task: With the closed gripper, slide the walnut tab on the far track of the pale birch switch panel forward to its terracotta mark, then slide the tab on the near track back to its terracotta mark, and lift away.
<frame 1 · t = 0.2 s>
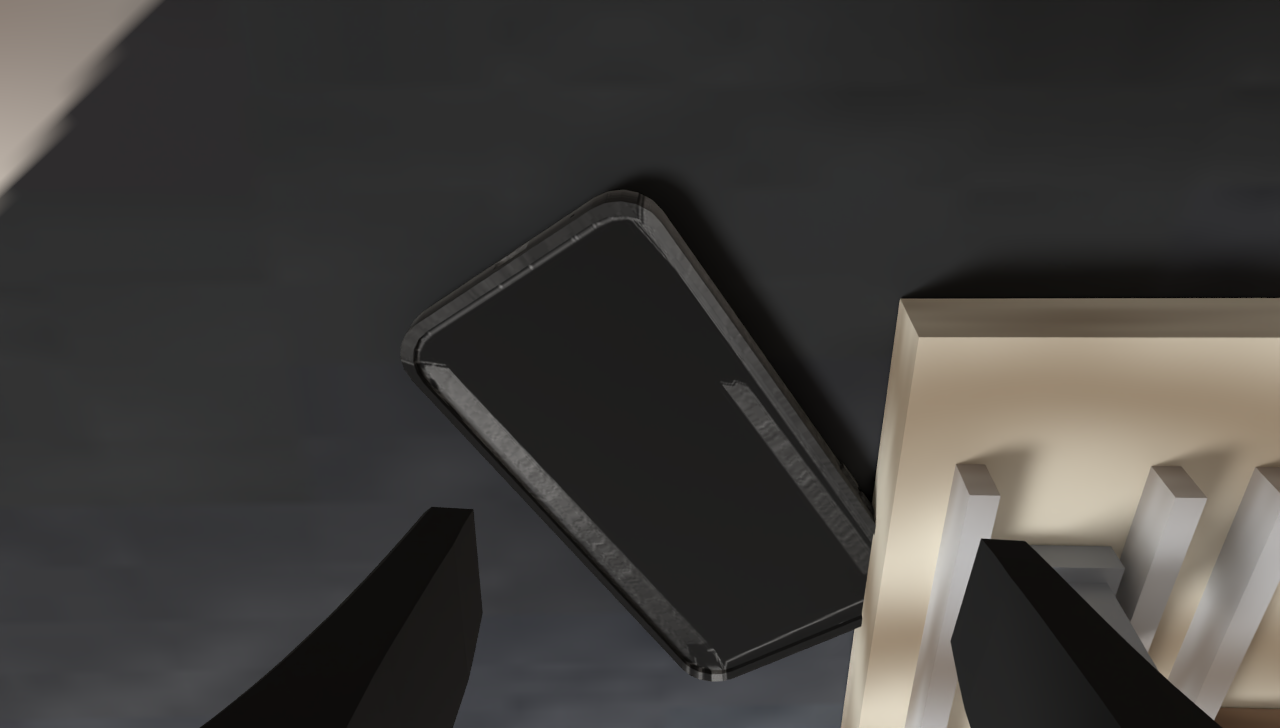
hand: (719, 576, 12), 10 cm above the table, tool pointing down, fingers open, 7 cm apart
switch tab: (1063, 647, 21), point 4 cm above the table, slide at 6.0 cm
switch panel: (1114, 602, 25), on the table
phone: (676, 453, 24), on the table
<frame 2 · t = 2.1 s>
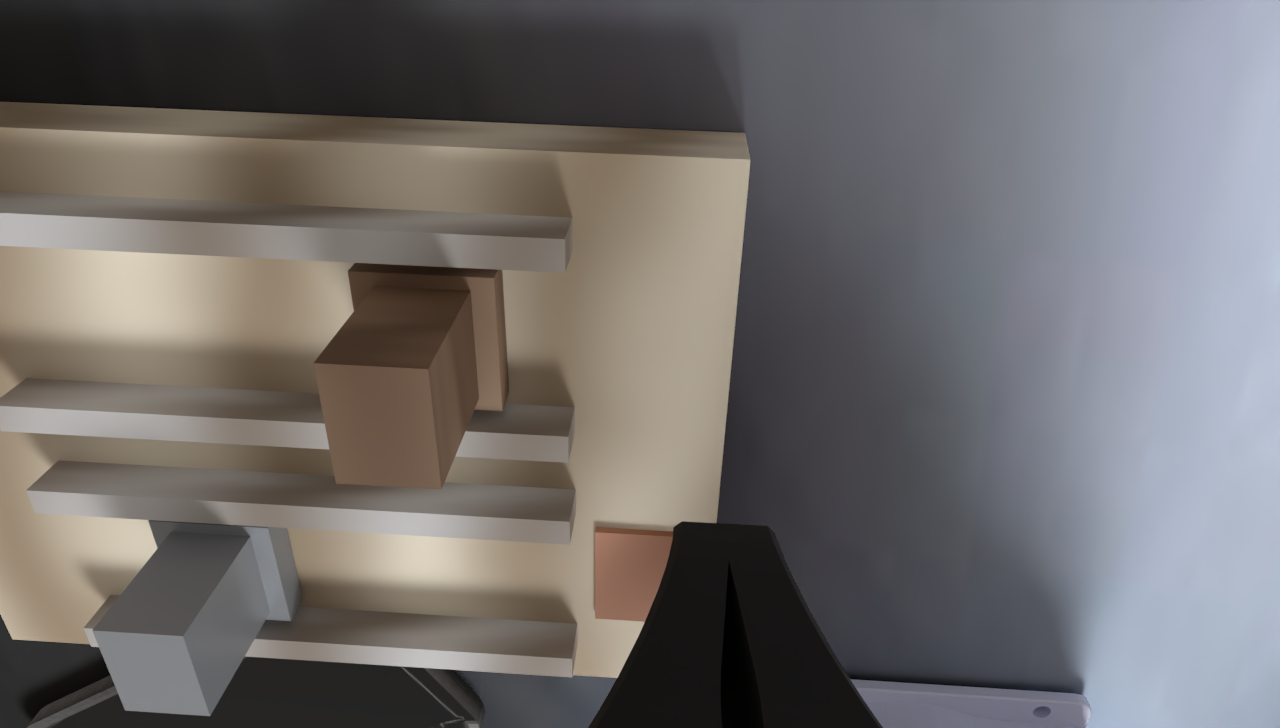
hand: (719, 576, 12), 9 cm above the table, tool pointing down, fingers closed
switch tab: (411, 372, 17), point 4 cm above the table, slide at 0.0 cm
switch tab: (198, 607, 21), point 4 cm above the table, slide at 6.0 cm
switch panel: (338, 402, 22), on the table
phone: (261, 702, 29), on the table
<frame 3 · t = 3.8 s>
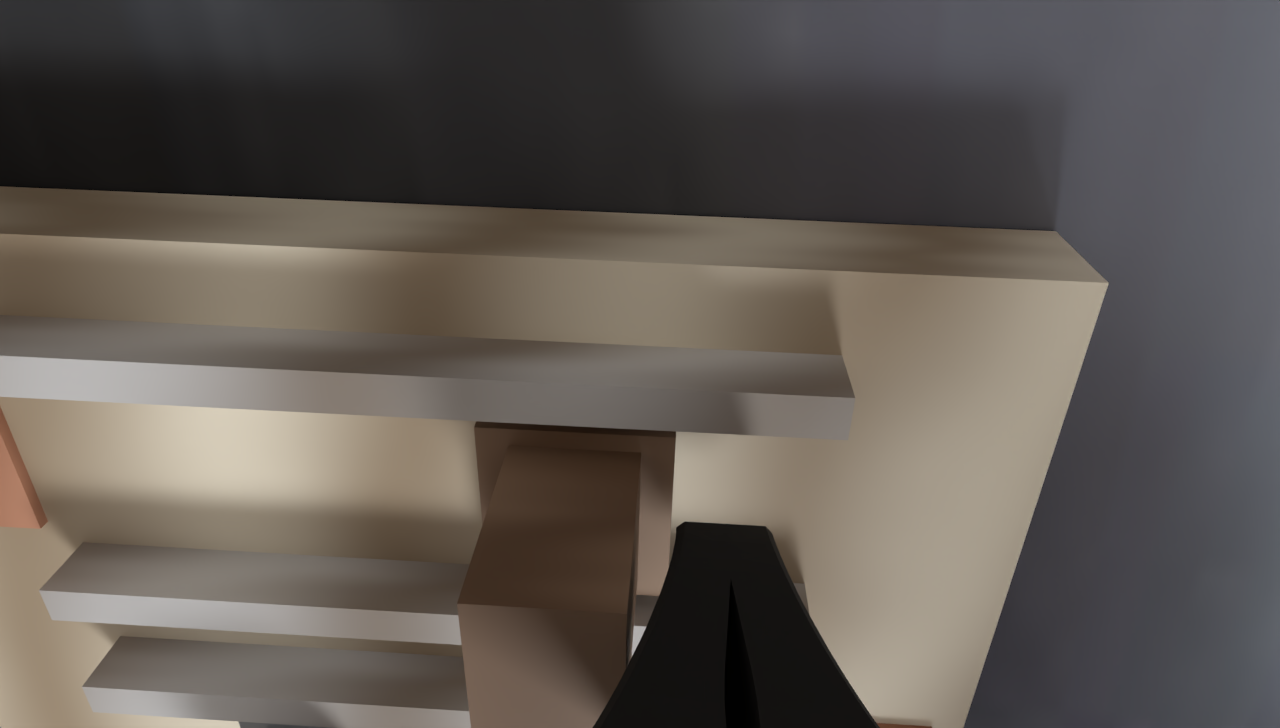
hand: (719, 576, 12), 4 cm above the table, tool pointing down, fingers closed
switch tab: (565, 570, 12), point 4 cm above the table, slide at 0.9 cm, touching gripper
switch panel: (470, 551, 18), on the table
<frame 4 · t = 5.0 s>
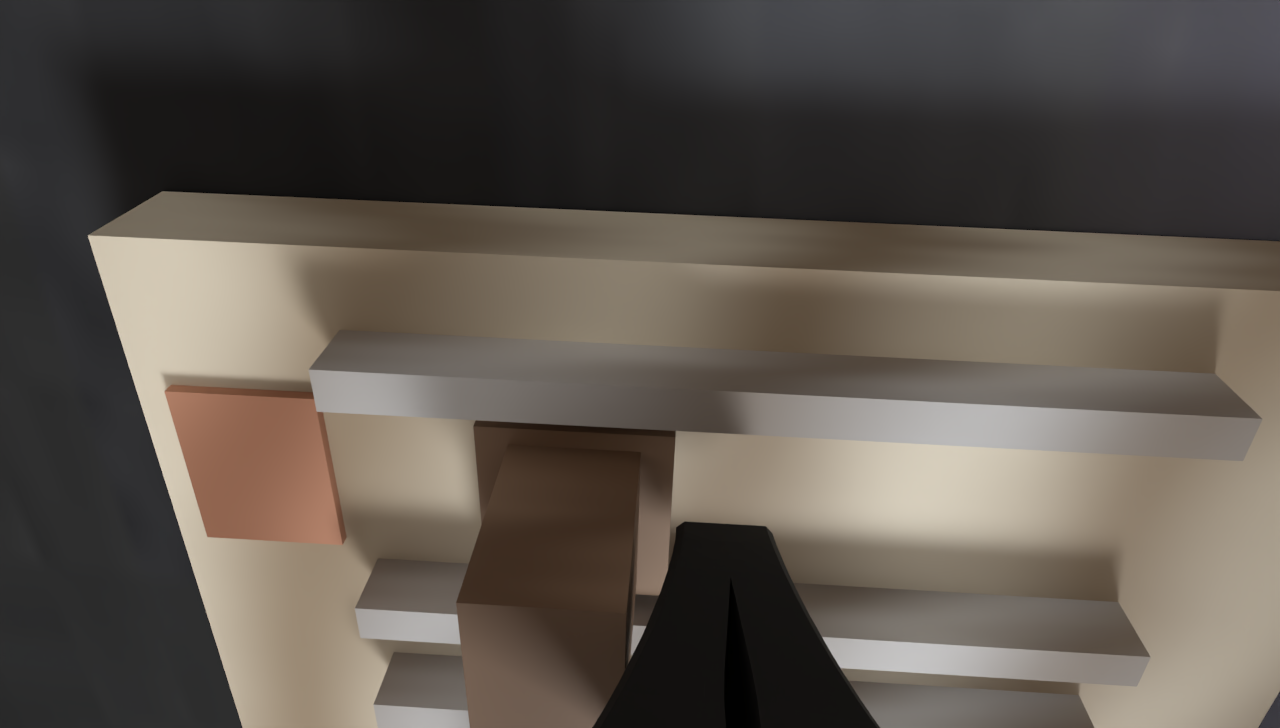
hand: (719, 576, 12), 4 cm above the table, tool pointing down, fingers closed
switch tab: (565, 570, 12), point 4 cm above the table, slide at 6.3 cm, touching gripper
switch panel: (731, 565, 17), on the table
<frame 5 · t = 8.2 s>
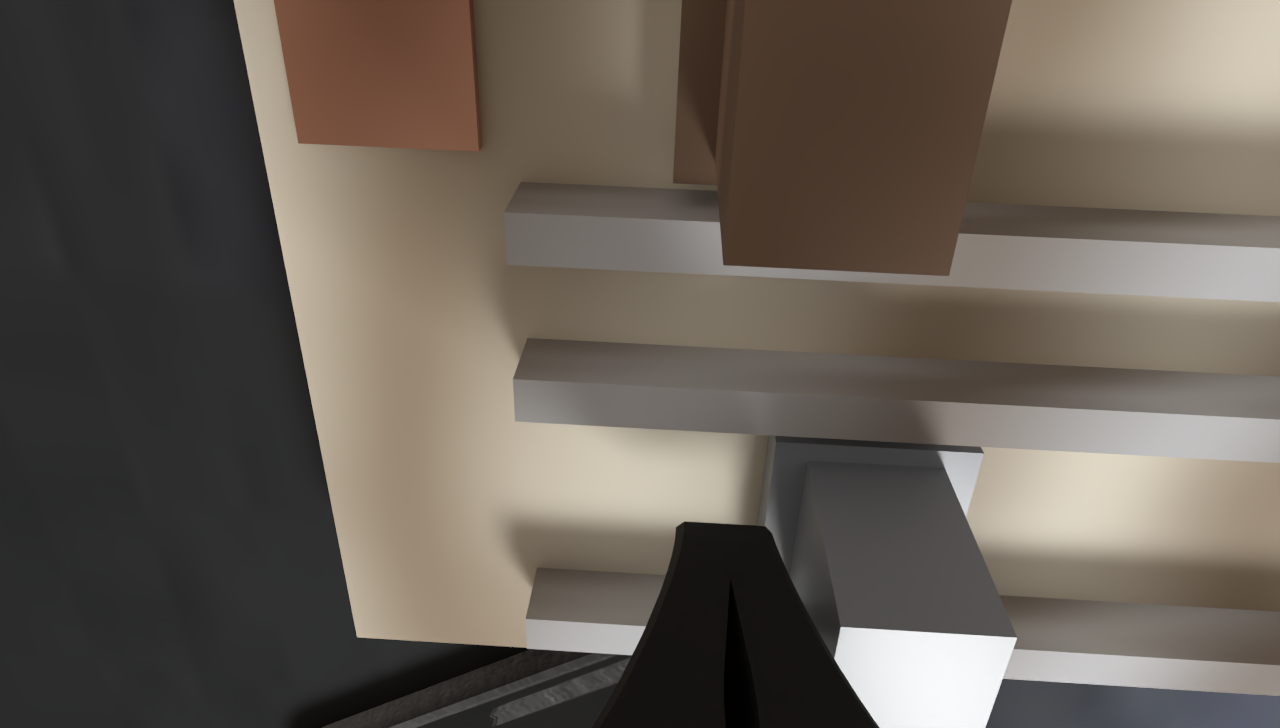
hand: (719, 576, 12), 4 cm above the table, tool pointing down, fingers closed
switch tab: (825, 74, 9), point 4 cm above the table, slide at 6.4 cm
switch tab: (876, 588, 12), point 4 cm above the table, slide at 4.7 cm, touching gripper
switch panel: (943, 254, 14), on the table
phone: (628, 726, 21), on the table
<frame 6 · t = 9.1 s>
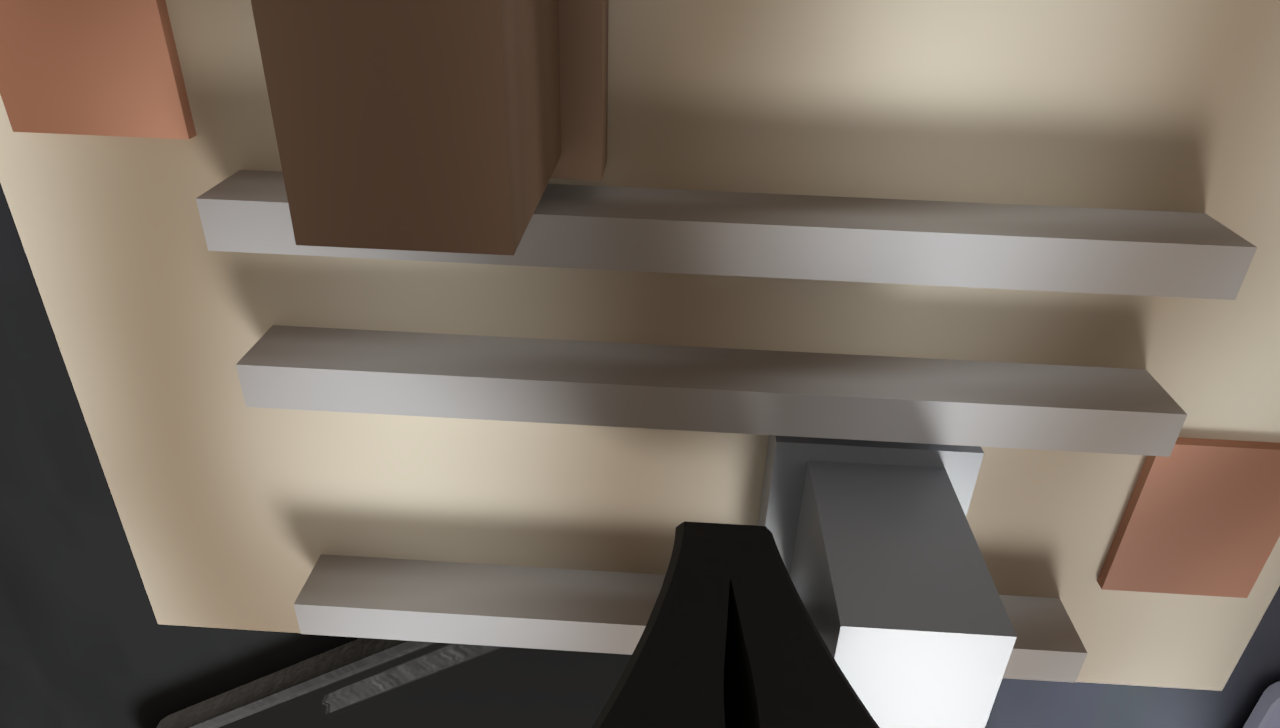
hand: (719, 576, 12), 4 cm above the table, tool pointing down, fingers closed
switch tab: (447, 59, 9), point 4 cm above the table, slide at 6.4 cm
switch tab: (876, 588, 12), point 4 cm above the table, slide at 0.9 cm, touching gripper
switch panel: (704, 243, 14), on the table
phone: (472, 715, 21), on the table
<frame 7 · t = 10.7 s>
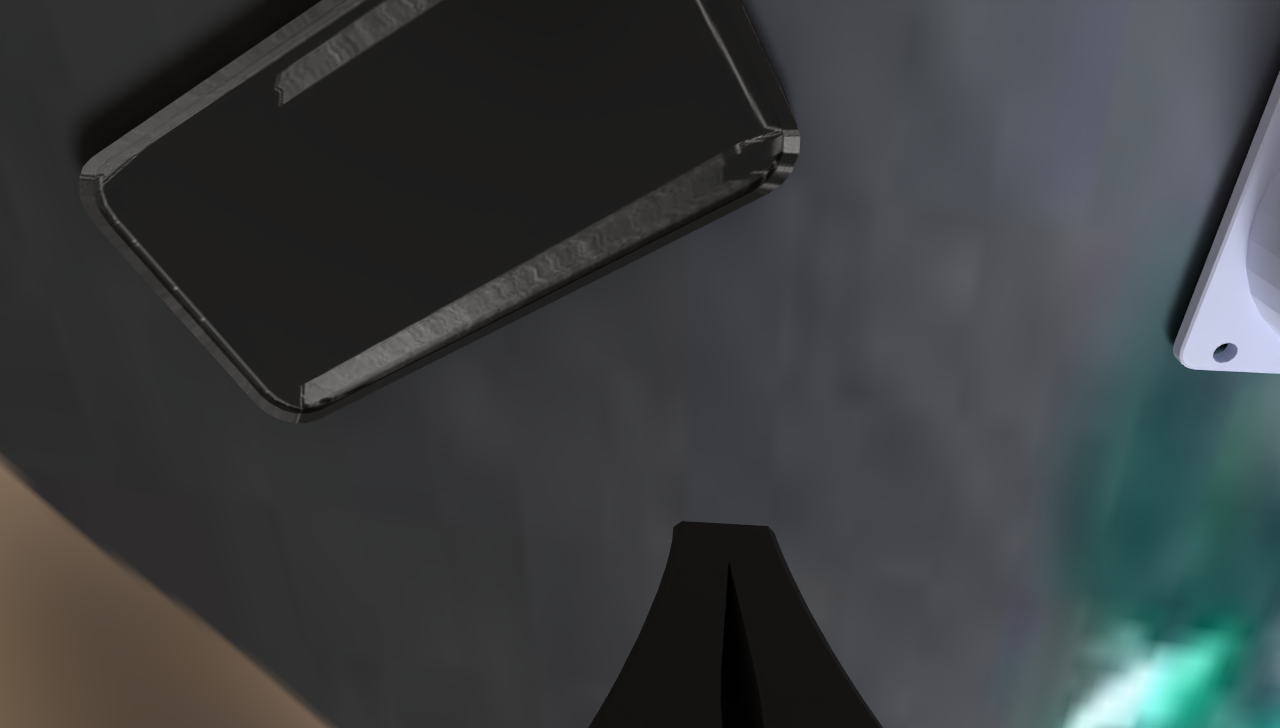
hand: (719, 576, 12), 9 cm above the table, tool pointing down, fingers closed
phone: (440, 156, 20), on the table
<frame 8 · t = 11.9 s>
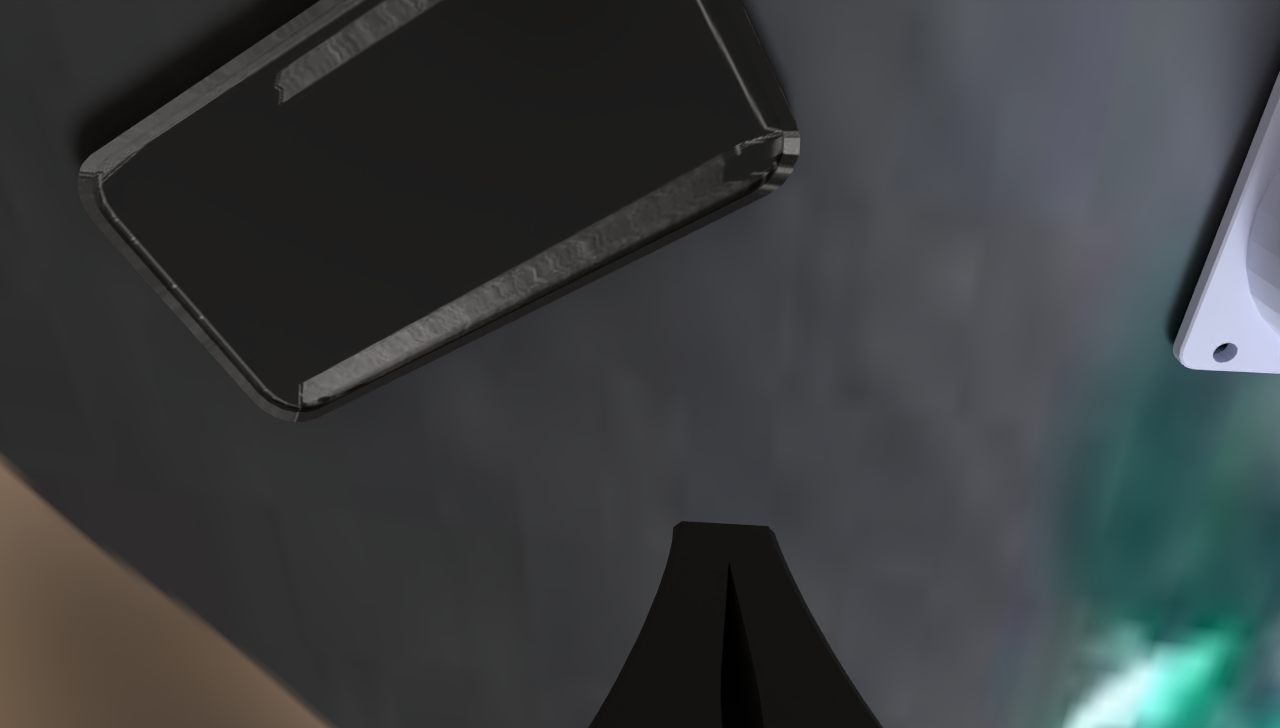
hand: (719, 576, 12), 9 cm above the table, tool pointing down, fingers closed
phone: (440, 155, 20), on the table
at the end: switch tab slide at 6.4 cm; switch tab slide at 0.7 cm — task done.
